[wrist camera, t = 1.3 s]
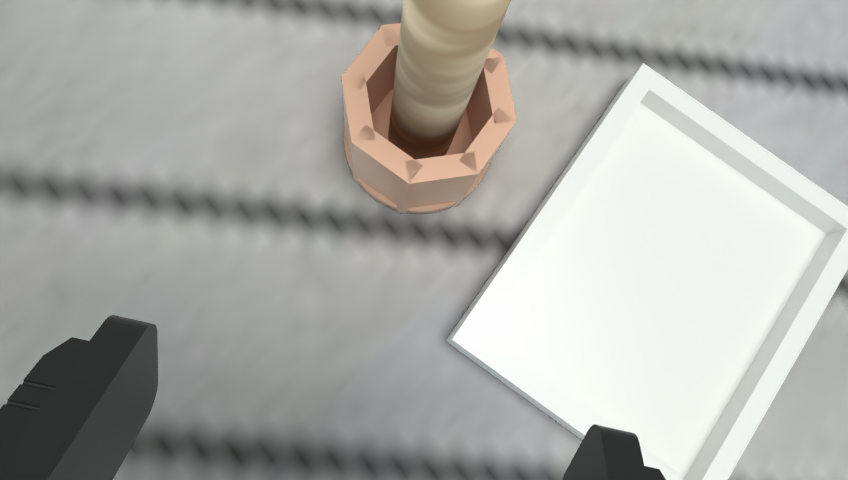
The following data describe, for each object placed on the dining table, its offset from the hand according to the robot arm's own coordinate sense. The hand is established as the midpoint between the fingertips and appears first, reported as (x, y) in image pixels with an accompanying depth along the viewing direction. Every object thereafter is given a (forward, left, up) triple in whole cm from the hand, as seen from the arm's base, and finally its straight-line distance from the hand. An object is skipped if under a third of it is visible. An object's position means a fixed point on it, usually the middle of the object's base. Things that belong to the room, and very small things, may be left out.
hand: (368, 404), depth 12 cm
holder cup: (-5, +11, -21) cm, 24 cm away
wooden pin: (-5, +11, -20) cm, 23 cm away
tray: (+9, +12, -21) cm, 26 cm away
